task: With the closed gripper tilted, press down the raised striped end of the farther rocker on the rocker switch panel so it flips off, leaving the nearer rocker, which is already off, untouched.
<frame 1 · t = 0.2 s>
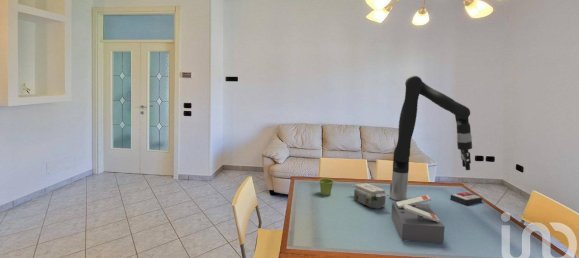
hand: (466, 168, 198), 23 cm above the table, tool pointing down, fingers open, 8 cm apart
rocker 2: (420, 212, 159), point 11 cm above the table, hinge at -18.0°
calculator: (465, 202, 210), on the table
rocker 1: (413, 201, 174), point 11 cm above the table, hinge at 18.0°
rocker switch panel: (414, 228, 168), on the table
plant pot: (325, 194, 216), on the table
grey boxy piece: (368, 203, 202), on the table
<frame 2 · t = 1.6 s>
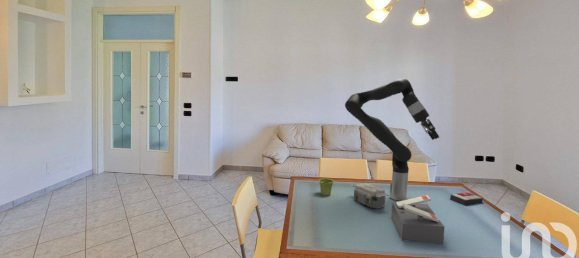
hand: (435, 138, 174), 43 cm above the table, tool tilted 35°, fingers open, 8 cm apart
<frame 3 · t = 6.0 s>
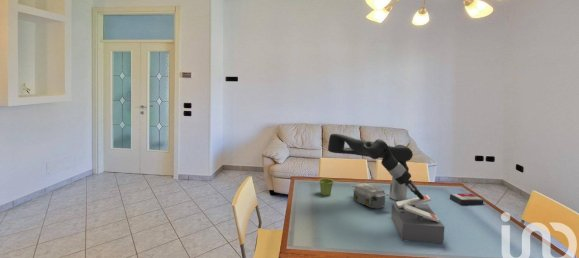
hand: (422, 198, 173), 13 cm above the table, tool tilted 45°, fingers closed
rocker 1: (413, 201, 174), point 11 cm above the table, hinge at 17.6°, touching gripper
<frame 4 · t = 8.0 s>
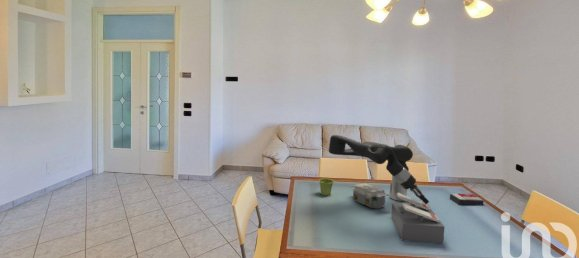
hand: (427, 202, 173), 11 cm above the table, tool tilted 45°, fingers closed
rocker 1: (413, 201, 174), point 11 cm above the table, hinge at -20.4°
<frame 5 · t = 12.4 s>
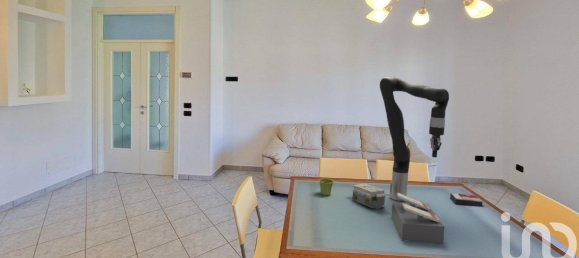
hand: (434, 157, 188), 31 cm above the table, tool pointing down, fingers closed
at the end: rocker 1 at -20° (first picture: +18°); rocker 2 at -18° (first picture: -18°) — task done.
